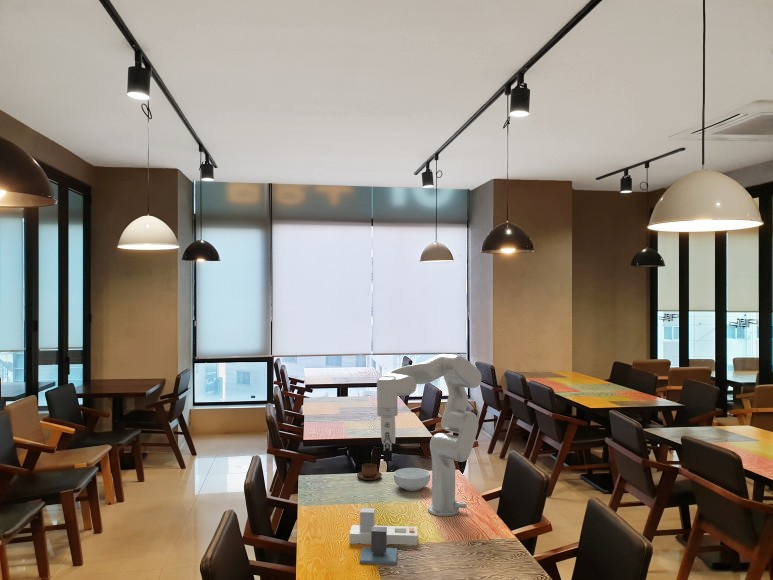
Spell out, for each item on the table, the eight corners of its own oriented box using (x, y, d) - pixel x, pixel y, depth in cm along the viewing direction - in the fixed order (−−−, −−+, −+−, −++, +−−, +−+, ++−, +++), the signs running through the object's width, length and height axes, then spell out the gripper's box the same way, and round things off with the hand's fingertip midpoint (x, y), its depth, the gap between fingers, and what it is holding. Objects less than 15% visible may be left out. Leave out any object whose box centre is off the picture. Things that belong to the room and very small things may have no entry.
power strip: (417, 536, 214) (417, 525, 214) (417, 545, 206) (417, 533, 206) (351, 534, 215) (351, 523, 215) (349, 543, 207) (349, 532, 207)
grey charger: (374, 531, 212) (374, 508, 212) (373, 536, 208) (374, 512, 208) (360, 531, 213) (361, 508, 213) (359, 535, 209) (360, 512, 209)
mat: (396, 551, 201) (396, 548, 201) (396, 564, 191) (396, 561, 191) (362, 550, 201) (362, 547, 202) (359, 563, 192) (359, 560, 192)
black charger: (386, 551, 198) (386, 526, 198) (386, 556, 194) (386, 531, 194) (371, 551, 198) (372, 526, 199) (371, 556, 194) (371, 531, 195)
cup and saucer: (359, 473, 289) (359, 461, 289) (383, 475, 287) (383, 462, 287) (354, 481, 277) (354, 468, 277) (379, 482, 275) (379, 469, 275)
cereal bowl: (412, 480, 280) (412, 465, 280) (437, 488, 267) (437, 473, 267) (385, 487, 268) (386, 472, 268) (411, 497, 256) (411, 480, 256)
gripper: (397, 416, 207) (398, 464, 207) (397, 406, 224) (398, 450, 224) (376, 416, 207) (376, 464, 207) (378, 406, 224) (378, 450, 224)
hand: (388, 457), depth 216 cm, fingers open, 9 cm apart
